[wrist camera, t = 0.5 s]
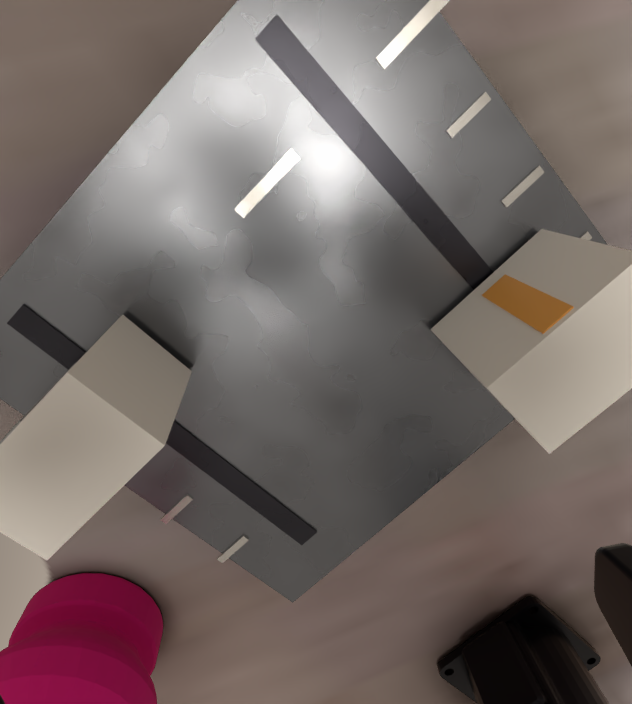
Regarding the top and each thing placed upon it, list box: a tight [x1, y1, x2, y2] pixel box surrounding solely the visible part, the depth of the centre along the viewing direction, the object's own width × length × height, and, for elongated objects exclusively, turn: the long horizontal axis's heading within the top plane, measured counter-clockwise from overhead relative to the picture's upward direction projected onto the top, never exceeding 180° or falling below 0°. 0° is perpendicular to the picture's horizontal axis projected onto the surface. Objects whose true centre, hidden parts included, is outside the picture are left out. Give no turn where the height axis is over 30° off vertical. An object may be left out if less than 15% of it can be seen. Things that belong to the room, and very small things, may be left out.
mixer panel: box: [0, 0, 607, 602], centre depth 19 cm, size 17×20×2 cm
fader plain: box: [0, 315, 192, 560], centre depth 15 cm, size 3×5×5 cm, turn 134°
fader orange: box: [430, 229, 632, 454], centre depth 16 cm, size 3×5×5 cm, turn 134°
